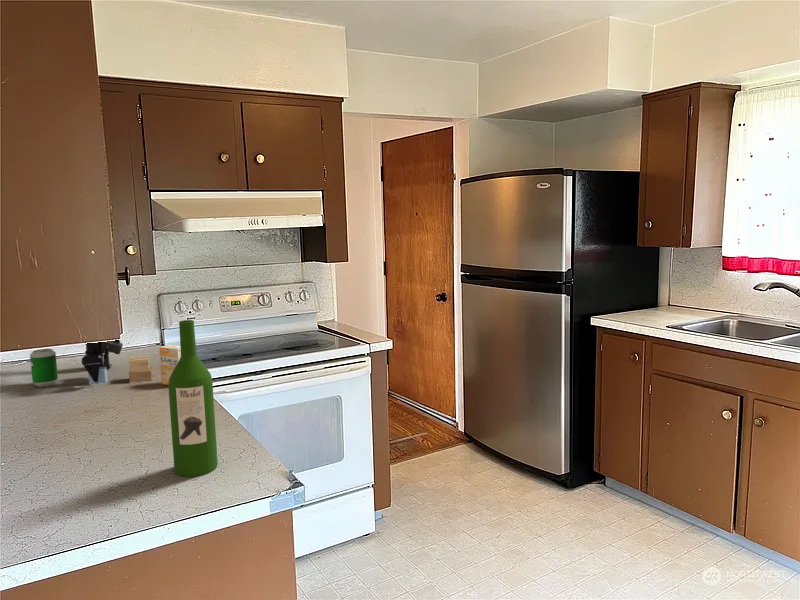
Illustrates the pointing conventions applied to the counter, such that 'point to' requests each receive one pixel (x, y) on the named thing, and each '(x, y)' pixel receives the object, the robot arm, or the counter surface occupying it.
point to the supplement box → (168, 361)
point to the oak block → (139, 363)
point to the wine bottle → (192, 410)
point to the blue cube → (101, 378)
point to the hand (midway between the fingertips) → (98, 378)
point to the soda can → (44, 367)
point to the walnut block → (141, 375)
